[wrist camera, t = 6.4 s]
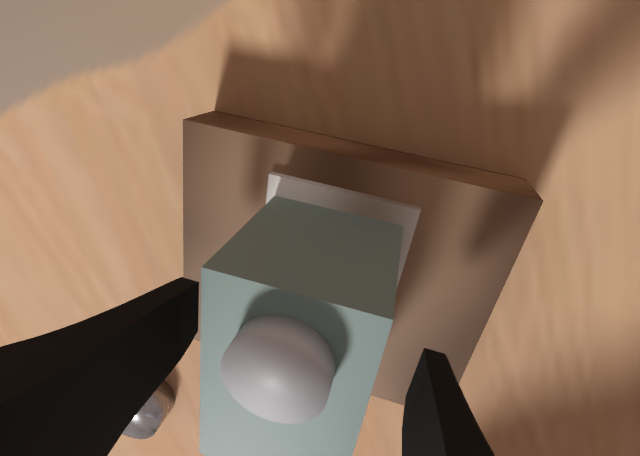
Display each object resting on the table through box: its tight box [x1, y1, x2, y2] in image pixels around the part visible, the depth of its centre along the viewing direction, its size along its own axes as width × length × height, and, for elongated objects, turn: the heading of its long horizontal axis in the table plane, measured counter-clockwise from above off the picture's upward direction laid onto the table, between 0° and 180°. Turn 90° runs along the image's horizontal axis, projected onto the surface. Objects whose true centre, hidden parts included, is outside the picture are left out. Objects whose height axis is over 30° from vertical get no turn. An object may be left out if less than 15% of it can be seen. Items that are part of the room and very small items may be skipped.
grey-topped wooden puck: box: [122, 380, 175, 439], centre depth 23 cm, size 4×4×2 cm
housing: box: [199, 196, 403, 456], centre depth 12 cm, size 7×4×6 cm, turn 171°
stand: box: [183, 111, 543, 406], centre depth 15 cm, size 12×10×2 cm
